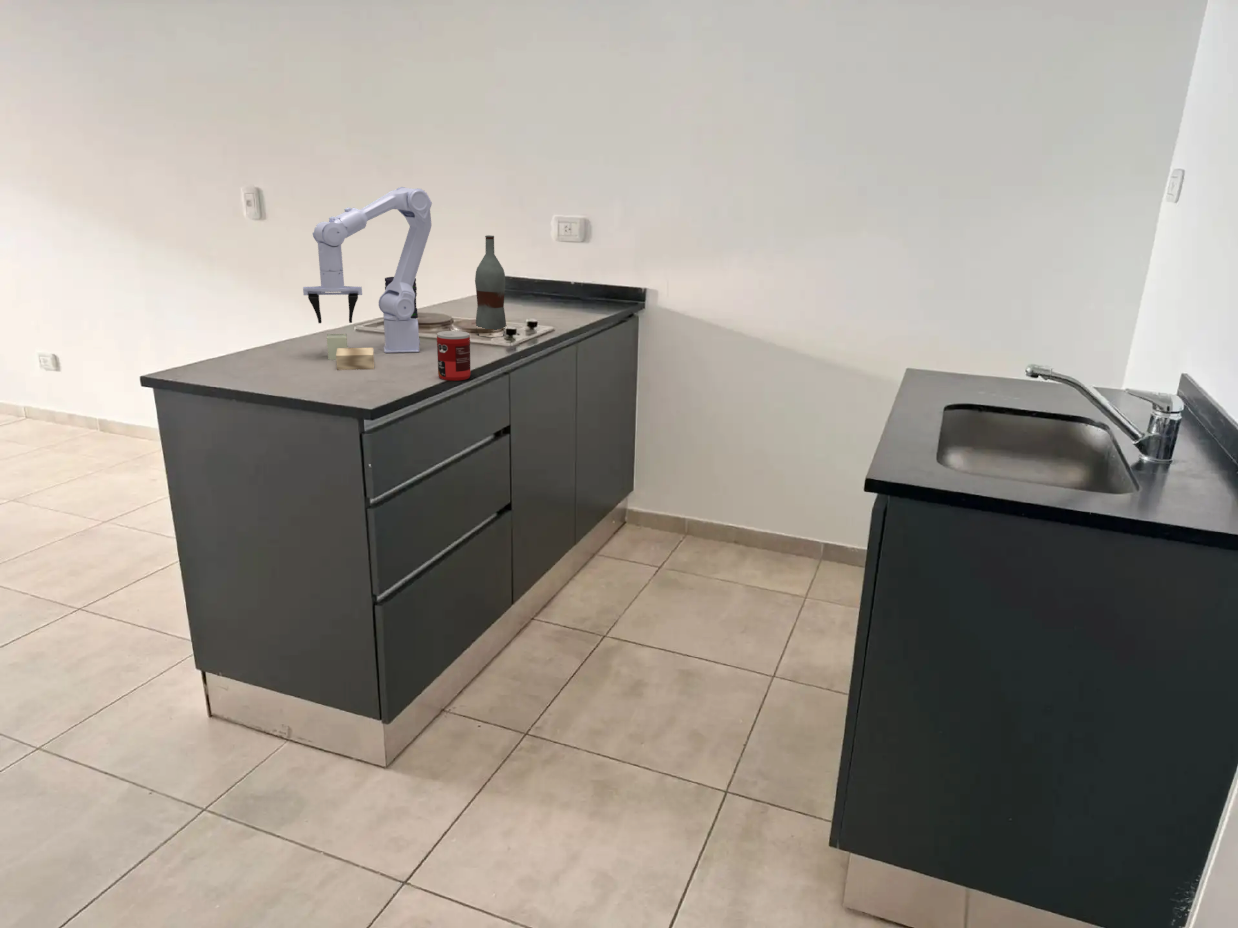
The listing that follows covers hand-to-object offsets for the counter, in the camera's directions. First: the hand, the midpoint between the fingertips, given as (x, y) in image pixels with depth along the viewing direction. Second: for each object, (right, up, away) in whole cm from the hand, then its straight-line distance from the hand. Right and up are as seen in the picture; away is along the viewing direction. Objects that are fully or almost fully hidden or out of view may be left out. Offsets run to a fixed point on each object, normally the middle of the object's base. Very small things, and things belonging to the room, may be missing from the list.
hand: (335, 322), depth 223 cm
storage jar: (+5, +7, +50) cm, 51 cm away
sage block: (0, -9, +3) cm, 10 cm away
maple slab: (+7, -12, -5) cm, 15 cm away
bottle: (+35, +3, +41) cm, 54 cm away
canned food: (+34, -16, -13) cm, 40 cm away
